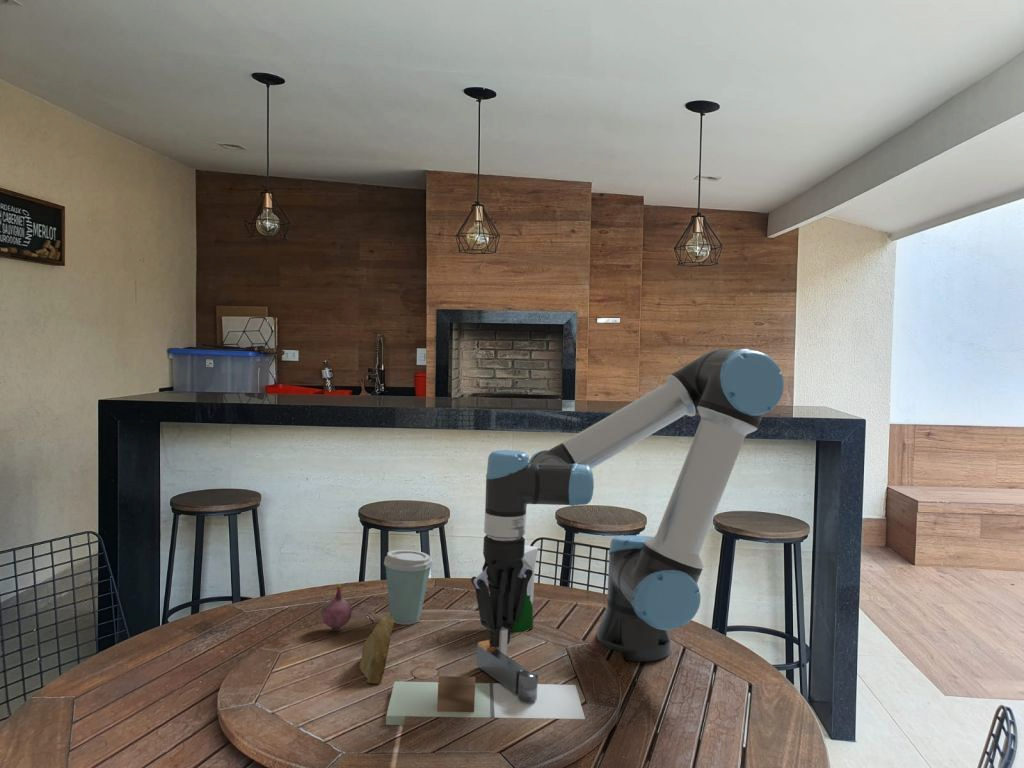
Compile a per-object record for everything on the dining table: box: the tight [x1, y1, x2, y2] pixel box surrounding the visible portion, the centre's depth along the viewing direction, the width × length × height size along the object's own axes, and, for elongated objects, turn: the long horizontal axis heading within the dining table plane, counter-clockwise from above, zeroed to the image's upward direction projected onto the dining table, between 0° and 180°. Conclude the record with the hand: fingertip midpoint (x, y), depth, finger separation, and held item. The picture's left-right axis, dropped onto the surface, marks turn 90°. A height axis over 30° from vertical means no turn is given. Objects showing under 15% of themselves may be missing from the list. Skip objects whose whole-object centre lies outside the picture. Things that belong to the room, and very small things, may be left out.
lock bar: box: [475, 639, 539, 702], centre depth 131 cm, size 17×3×5 cm, turn 34°
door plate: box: [385, 681, 586, 726], centre depth 125 cm, size 32×12×2 cm, turn 93°
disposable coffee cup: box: [383, 549, 433, 626], centre depth 163 cm, size 11×11×15 cm
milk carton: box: [510, 544, 539, 633], centre depth 160 cm, size 9×9×20 cm
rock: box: [358, 614, 395, 685], centre depth 137 cm, size 11×9×10 cm
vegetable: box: [320, 582, 353, 631], centre depth 155 cm, size 6×6×10 cm
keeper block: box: [437, 675, 476, 712], centre depth 122 cm, size 6×3×4 cm, turn 93°
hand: (498, 662), depth 136 cm, fingers closed
